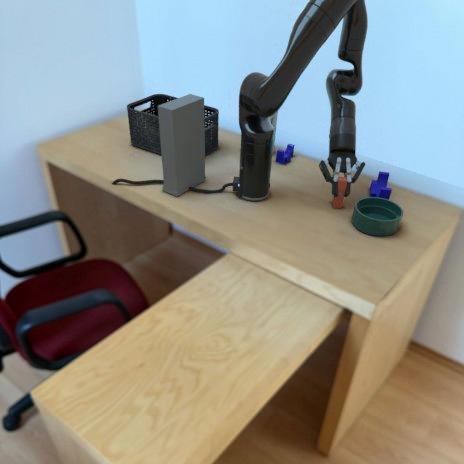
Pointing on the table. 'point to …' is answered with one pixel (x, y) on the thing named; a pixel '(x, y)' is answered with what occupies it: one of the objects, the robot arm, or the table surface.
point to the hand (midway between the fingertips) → (341, 196)
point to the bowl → (377, 216)
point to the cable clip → (380, 186)
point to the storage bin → (151, 138)
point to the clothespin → (340, 192)
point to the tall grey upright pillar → (182, 143)
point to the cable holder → (285, 154)
